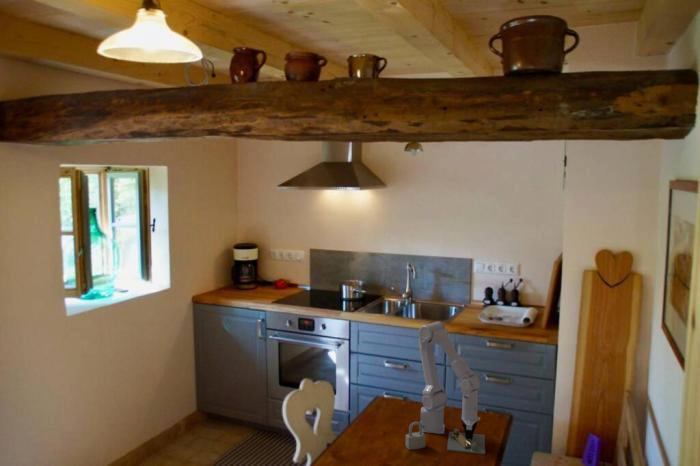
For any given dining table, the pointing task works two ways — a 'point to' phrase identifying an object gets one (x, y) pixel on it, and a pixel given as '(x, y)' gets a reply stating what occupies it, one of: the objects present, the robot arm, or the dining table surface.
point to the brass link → (460, 439)
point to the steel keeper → (471, 444)
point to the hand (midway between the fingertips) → (469, 439)
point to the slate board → (457, 447)
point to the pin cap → (456, 431)
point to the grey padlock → (415, 437)
